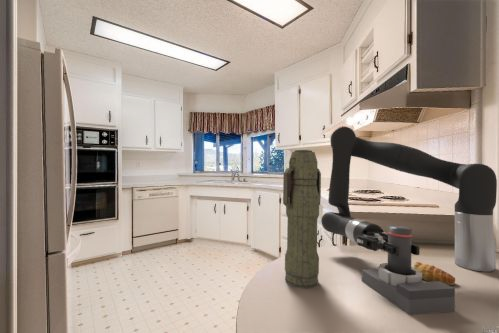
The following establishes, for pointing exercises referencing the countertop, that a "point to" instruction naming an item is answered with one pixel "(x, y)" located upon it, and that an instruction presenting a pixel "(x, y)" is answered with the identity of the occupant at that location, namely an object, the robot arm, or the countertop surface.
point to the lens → (400, 249)
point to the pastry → (434, 274)
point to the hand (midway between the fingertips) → (407, 251)
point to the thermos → (302, 218)
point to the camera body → (411, 290)
